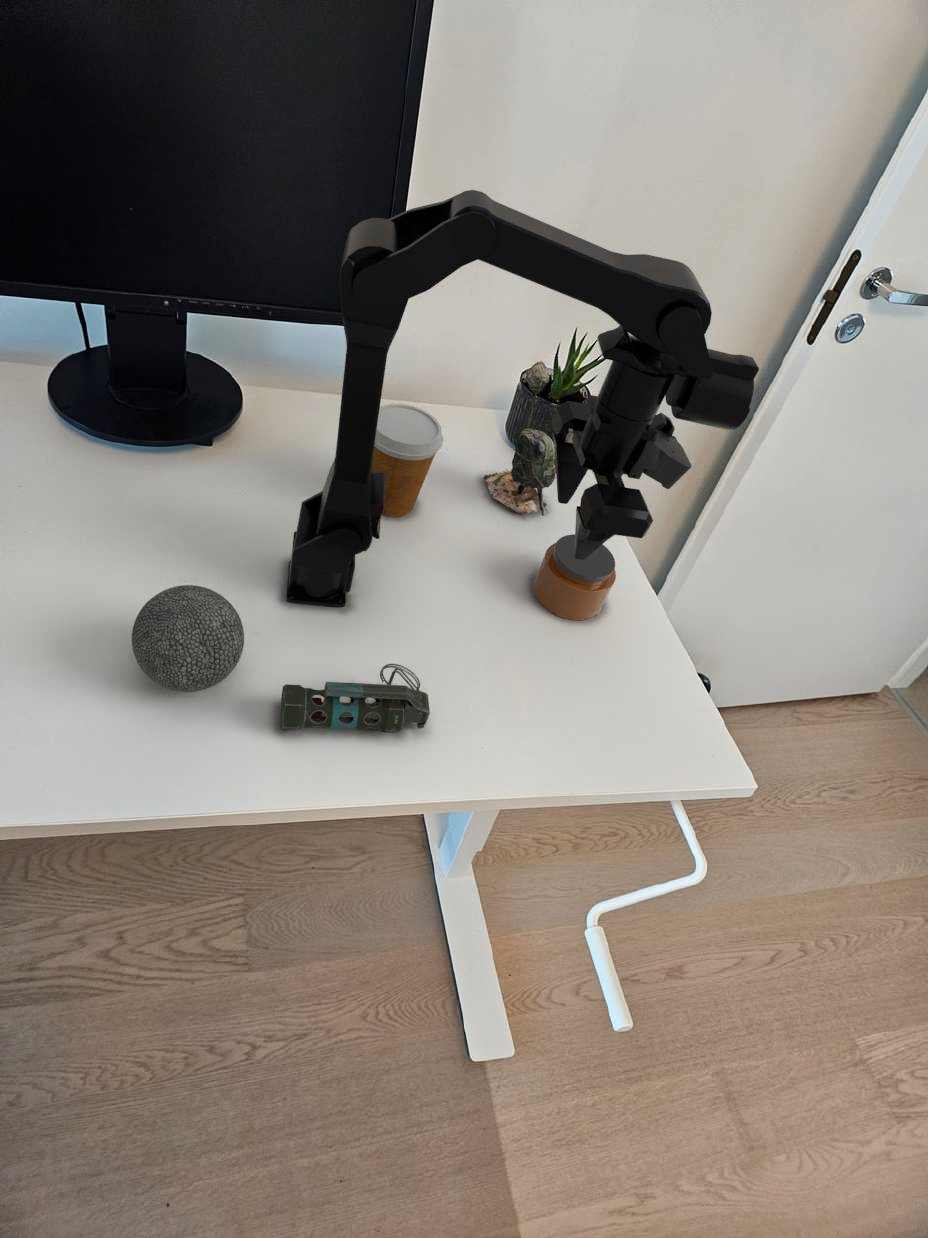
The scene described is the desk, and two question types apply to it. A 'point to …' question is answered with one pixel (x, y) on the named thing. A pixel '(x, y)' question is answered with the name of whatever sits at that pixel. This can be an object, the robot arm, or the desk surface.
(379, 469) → the disposable coffee cup
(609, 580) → the jar
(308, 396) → the desk surface
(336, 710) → the stun grenade
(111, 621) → the desk surface
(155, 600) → the decorative ball
